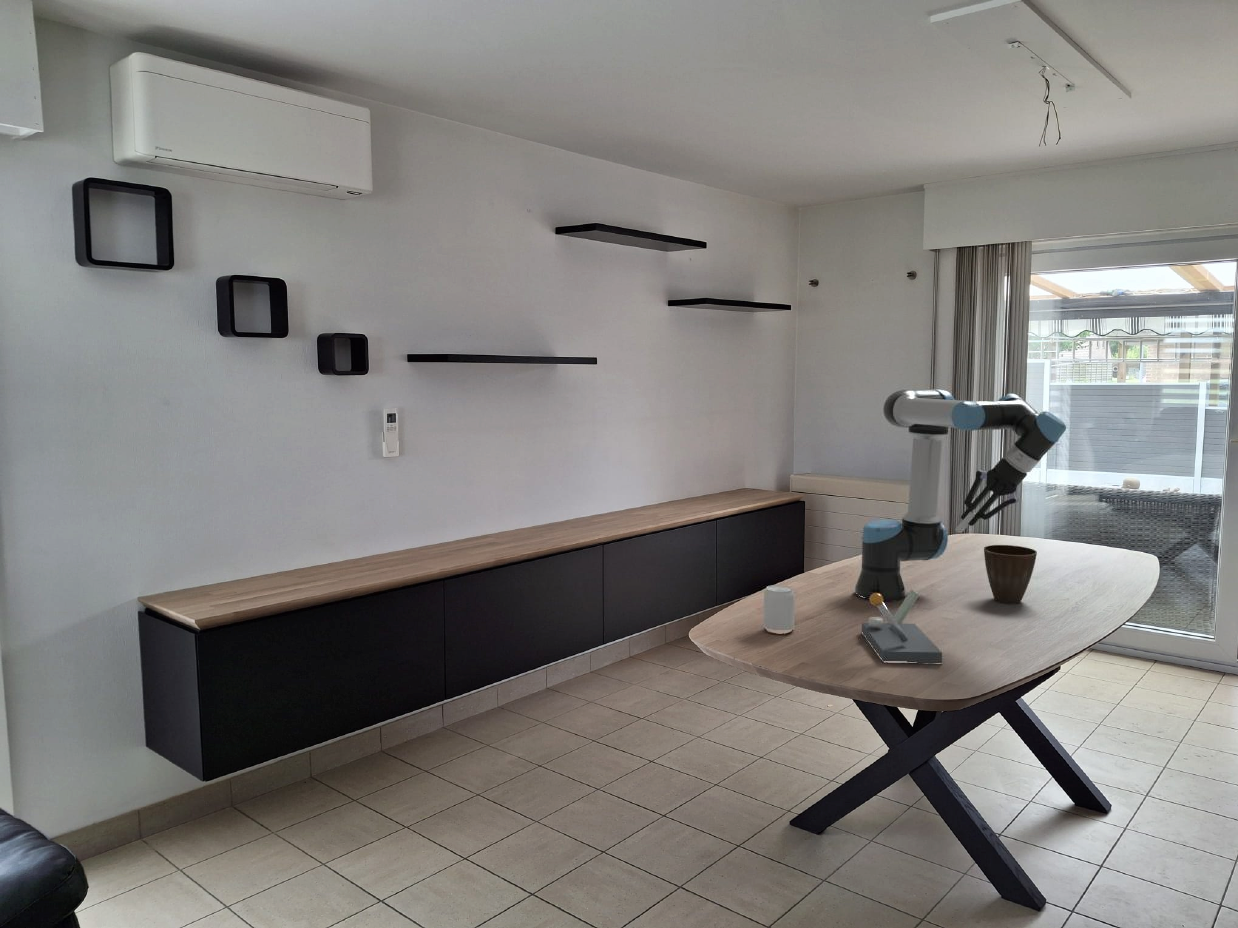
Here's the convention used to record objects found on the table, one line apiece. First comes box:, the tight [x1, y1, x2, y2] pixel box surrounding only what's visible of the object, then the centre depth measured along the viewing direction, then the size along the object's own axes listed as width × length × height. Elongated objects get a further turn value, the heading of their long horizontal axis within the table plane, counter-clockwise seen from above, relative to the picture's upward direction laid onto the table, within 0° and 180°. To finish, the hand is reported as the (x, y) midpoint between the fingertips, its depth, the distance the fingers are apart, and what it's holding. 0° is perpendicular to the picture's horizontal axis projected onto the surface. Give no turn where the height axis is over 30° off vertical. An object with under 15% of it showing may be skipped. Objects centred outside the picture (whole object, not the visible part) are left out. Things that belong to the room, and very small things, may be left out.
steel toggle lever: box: [869, 593, 908, 643], centre depth 216 cm, size 3×3×14 cm
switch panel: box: [861, 622, 943, 664], centre depth 224 cm, size 24×14×3 cm, turn 177°
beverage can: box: [763, 584, 796, 630], centre depth 238 cm, size 8×8×12 cm
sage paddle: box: [893, 588, 920, 626], centre depth 230 cm, size 4×1×10 cm, turn 177°
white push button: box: [868, 616, 884, 627], centre depth 231 cm, size 4×4×2 cm
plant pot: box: [983, 544, 1038, 605], centre depth 269 cm, size 15×15×16 cm
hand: (958, 530), depth 240 cm, fingers closed
